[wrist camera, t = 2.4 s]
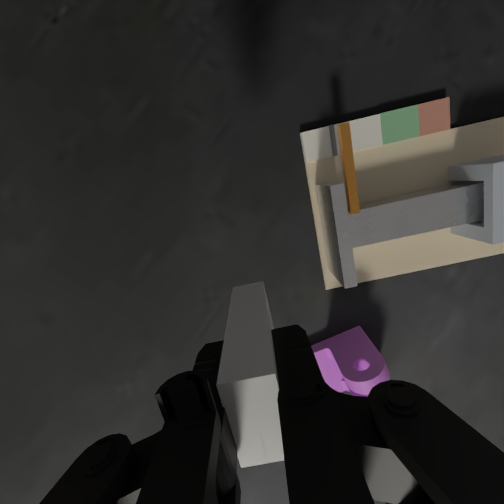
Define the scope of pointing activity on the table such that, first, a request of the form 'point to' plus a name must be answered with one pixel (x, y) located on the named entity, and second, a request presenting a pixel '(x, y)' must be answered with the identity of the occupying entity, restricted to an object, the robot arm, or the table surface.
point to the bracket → (351, 362)
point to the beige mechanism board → (413, 183)
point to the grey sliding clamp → (386, 213)
